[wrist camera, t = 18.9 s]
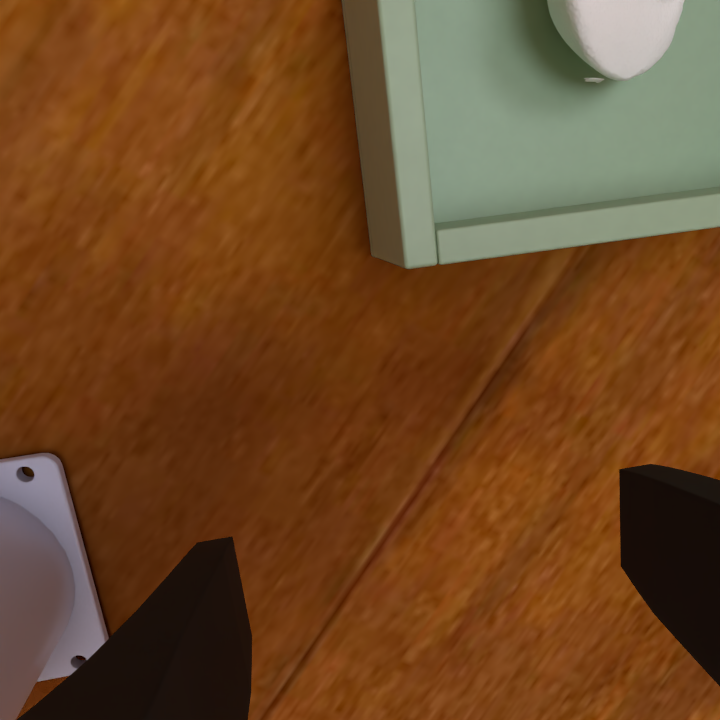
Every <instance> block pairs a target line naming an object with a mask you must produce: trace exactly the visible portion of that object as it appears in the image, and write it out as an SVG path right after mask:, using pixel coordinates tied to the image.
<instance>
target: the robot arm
mask: <svg viewBox="0 0 720 720" xmlns="http://www.w3.org/2000/svg"><path fill="white" fill-rule="evenodd" d="M22 467H29V468H31V469H32V470H33V472H34V477H28V476H26V475H25V474H24V473H23V471H22ZM619 473H620V537H621V567H622V568H623V570H624V571H625V573H626V574H627V576H628V577H629V579H630V580H631V582H632V583H633V585H634V586H635V588H636V589H637V591H638V592H639V594H640V595H641V596H642V598H643V599H644V601H645V602H646V603H647V605H648V606H649V607H650V609H651V610H652V612H653V613H654V614H655V615H656V616H657V617H658V619H659V620H660V621H661V622H662V623H663V624H664V625H665V627H666V628H667V629H668V630H669V631H670V632H671V633H672V634H673V635H674V637H675V638H676V639H677V640H678V641H679V642H680V643H681V644H682V645H683V647H684V648H685V649H686V650H687V651H688V652H689V653H690V654H691V655H692V656H693V657H694V659H695V660H696V661H697V662H698V663H699V664H700V665H701V666H702V667H703V668H704V669H705V671H706V672H707V673H708V674H709V675H710V676H711V677H712V678H713V679H714V680H715V681H716V683H717V684H718V685H719V686H720V480H717V479H713V478H710V477H706V476H702V475H699V474H695V473H691V472H687V471H683V470H679V469H675V468H670V467H665V466H660V465H653V464H648V465H642V466H637V467H631V468H625V469H619ZM77 655H80V656H83V657H85V658H86V660H79V659H77V658H76V656H77ZM251 670H252V634H251V629H250V624H249V619H248V614H247V609H246V604H245V599H244V594H243V588H242V583H241V578H240V573H239V568H238V563H237V558H236V553H235V548H234V543H233V538H232V537H227V538H221V539H215V540H210V541H204V542H198V543H197V544H196V545H195V546H194V547H193V548H192V549H191V550H190V551H189V552H188V553H187V554H186V555H185V557H184V558H183V559H182V560H181V561H180V562H179V564H178V565H177V566H176V567H175V568H174V569H173V570H172V572H171V573H170V574H169V575H168V576H167V577H166V579H165V580H164V581H163V582H162V583H161V584H160V585H159V586H158V587H157V589H156V590H155V591H154V592H153V593H152V594H151V595H150V596H149V597H148V599H147V600H146V601H145V602H144V603H143V604H142V605H141V606H140V607H139V609H138V610H137V611H136V612H135V613H134V614H133V615H132V616H131V617H130V618H129V619H128V620H127V621H126V622H125V623H124V624H123V625H122V626H121V627H120V628H119V629H118V630H117V631H116V632H115V633H114V634H113V635H112V636H111V637H110V638H109V637H108V633H107V630H106V626H105V622H104V618H103V615H102V611H101V607H100V603H99V600H98V596H97V592H96V588H95V585H94V581H93V577H92V573H91V570H90V566H89V562H88V559H87V555H86V551H85V547H84V544H83V540H82V536H81V532H80V529H79V525H78V521H77V517H76V514H75V510H74V506H73V502H72V499H71V495H70V491H69V487H68V484H67V480H66V476H65V472H64V469H63V465H62V463H61V461H60V459H59V458H58V457H56V456H55V455H53V454H50V453H38V454H31V455H25V456H19V457H12V458H6V459H0V720H16V718H17V716H18V715H19V713H20V711H21V709H22V707H23V706H24V704H25V702H26V700H27V698H28V696H29V695H30V693H31V691H32V689H33V687H34V685H35V684H36V682H39V681H44V680H49V679H55V678H60V677H65V676H69V677H68V678H67V679H66V680H64V681H63V682H62V683H61V684H60V685H58V686H57V687H56V688H55V689H54V690H53V691H51V692H50V693H49V694H48V695H47V696H45V697H44V698H43V699H42V700H41V701H39V702H38V703H37V704H36V705H35V706H33V707H32V708H31V709H30V710H28V711H27V712H26V713H25V714H23V715H22V716H21V717H20V718H18V719H17V720H247V719H248V712H249V704H250V696H251Z"/></svg>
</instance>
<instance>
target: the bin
mask: <svg viewBox="0 0 720 720" xmlns="http://www.w3.org/2000/svg"><path fill="white" fill-rule="evenodd" d="M342 8H343V17H344V25H345V34H346V42H347V51H348V60H349V68H350V77H351V85H352V94H353V102H354V111H355V120H356V128H357V137H358V145H359V154H360V162H361V171H362V180H363V188H364V197H365V205H366V214H367V223H368V231H369V240H370V248H371V256H372V257H376V258H379V259H382V260H384V261H387V262H390V263H392V264H395V265H398V266H400V267H403V268H406V269H414V268H421V267H429V266H435V265H436V264H440V265H444V264H452V263H459V262H466V261H474V260H481V259H488V258H496V257H503V256H511V255H518V254H525V253H533V252H540V251H547V250H555V249H562V248H569V247H577V246H584V245H591V244H599V243H606V242H613V241H621V240H628V239H635V238H643V237H650V236H657V235H665V234H672V233H679V232H687V231H694V230H701V229H709V228H716V227H720V0H685V1H684V3H683V10H682V13H681V16H680V18H679V22H678V24H677V25H676V29H675V33H674V36H673V39H672V42H671V44H670V46H669V48H668V49H667V50H666V51H665V53H664V54H663V56H662V58H661V59H660V60H658V61H657V62H656V63H655V64H654V65H653V66H652V67H651V68H650V69H649V70H648V71H646V72H645V73H643V74H641V75H639V76H636V77H634V78H631V79H630V80H627V81H616V80H613V79H610V78H607V77H605V76H603V75H602V74H600V73H599V72H598V71H596V70H595V69H594V68H592V67H591V66H590V65H589V64H587V63H586V62H585V61H584V60H582V59H581V58H580V57H579V56H578V55H577V54H576V53H575V52H574V51H573V50H572V49H571V48H570V47H569V46H568V45H567V43H566V42H565V41H564V40H563V38H562V37H561V35H560V34H559V32H558V31H557V29H556V27H555V25H554V23H553V21H552V18H551V16H550V12H549V8H548V3H547V0H342ZM584 78H601V79H604V80H603V81H601V82H599V83H596V82H586V81H585V80H586V79H584Z"/></svg>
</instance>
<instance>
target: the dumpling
mask: <svg viewBox="0 0 720 720" xmlns="http://www.w3.org/2000/svg"><path fill="white" fill-rule="evenodd" d="M684 1H685V0H547V3H548V8H549V12H550V16H551V18H552V21H553V23H554V25H555V27H556V29H557V31H558V32H559V34H560V35H561V37H562V38H563V40H564V41H565V42H566V43H567V45H568V46H569V47H570V48H571V49H572V50H573V51H574V52H575V53H576V54H577V55H578V56H579V57H580V58H581V59H582V60H584V61H585V62H586V63H587V64H589V65H590V66H591V67H592V68H594V69H595V70H596V71H598V72H599V73H600V74H602V75H603V76H605V77H607V78H610V79H613V80H616V81H627V80H630V79H631V78H634V77H636V76H639V75H641V74H643V73H645V72H646V71H648V70H649V69H650V68H651V67H652V66H653V65H654V64H655V63H656V62H657V61H658V60H660V59H661V58H662V56H663V54H664V53H665V51H666V50H667V49H668V48H669V46H670V44H671V42H672V39H673V36H674V33H675V29H676V25H677V24H678V22H679V18H680V16H681V13H682V10H683V3H684ZM584 79H586V80H585V81H586V82H596V83H599V82H601V81H603V80H604V79H601V78H584Z"/></svg>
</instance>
